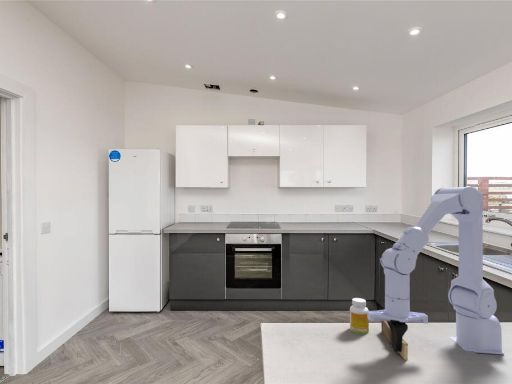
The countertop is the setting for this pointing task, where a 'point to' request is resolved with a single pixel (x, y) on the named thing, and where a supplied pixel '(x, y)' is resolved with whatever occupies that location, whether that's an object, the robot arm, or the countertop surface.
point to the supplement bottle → (359, 316)
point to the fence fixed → (386, 330)
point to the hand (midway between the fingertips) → (397, 350)
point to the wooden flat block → (404, 350)
